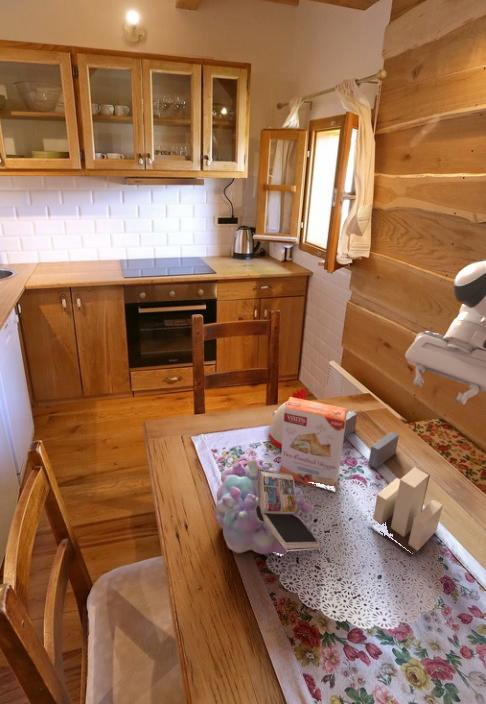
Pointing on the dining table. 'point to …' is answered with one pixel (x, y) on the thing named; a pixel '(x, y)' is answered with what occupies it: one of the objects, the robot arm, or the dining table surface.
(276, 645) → the dining table surface
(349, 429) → the grey book
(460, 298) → the robot arm
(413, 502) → the tall beige block
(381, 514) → the cream book
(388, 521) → the dark flat slab
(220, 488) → the pastel bumpy hinged case
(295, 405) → the cracker box
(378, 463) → the grey book
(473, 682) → the dining table surface
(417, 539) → the cream book
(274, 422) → the kitchen timer
